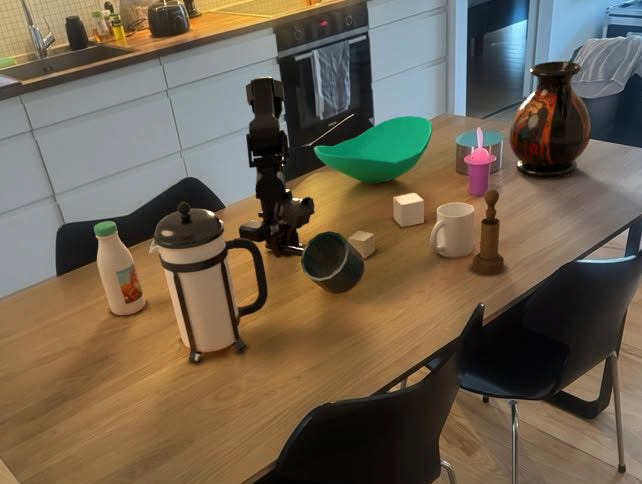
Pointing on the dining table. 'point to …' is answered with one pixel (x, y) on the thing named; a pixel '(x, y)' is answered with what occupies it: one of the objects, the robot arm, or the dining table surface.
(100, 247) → the milk bottle
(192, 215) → the coffee press
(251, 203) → the dining table surface
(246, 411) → the dining table surface
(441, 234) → the mug
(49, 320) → the dining table surface
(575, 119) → the amphora vase
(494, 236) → the mortar and pestle
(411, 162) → the table top decor
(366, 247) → the block
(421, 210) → the white cube
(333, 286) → the saucepan
